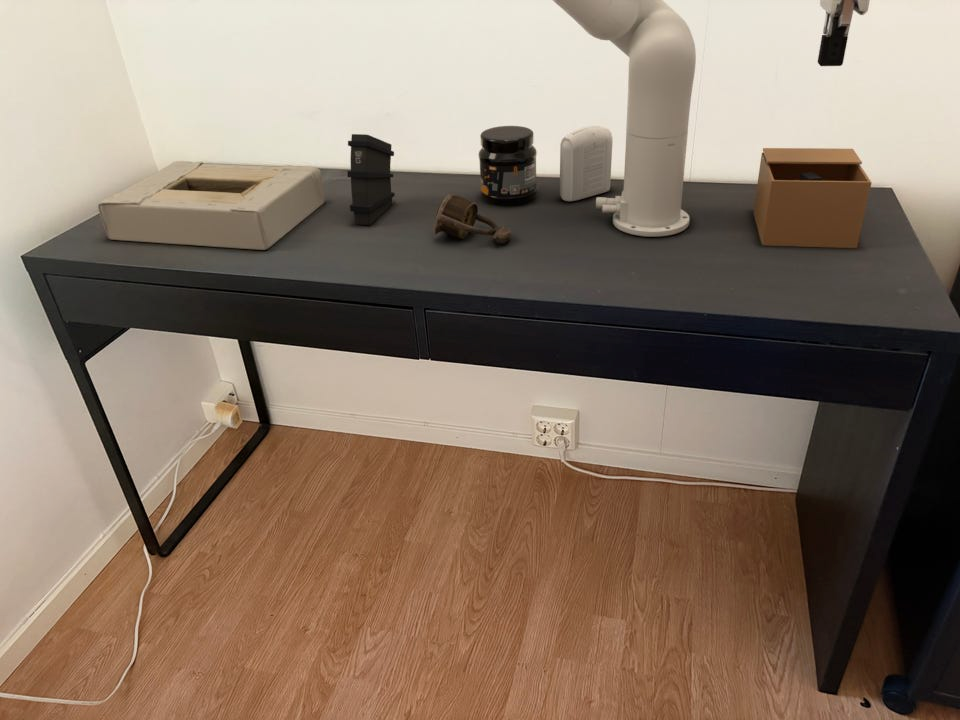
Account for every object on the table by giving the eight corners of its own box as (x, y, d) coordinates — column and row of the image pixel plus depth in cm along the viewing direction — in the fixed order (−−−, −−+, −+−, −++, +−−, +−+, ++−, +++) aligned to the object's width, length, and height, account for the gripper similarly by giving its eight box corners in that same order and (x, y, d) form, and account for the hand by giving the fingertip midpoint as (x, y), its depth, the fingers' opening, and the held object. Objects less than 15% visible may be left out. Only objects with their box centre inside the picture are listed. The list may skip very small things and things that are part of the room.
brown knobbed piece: (467, 189, 133) (422, 192, 126) (521, 198, 124) (476, 202, 118) (465, 231, 135) (421, 236, 129) (518, 243, 127) (474, 249, 120)
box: (327, 202, 147) (181, 194, 155) (321, 162, 143) (170, 156, 151) (270, 254, 129) (107, 242, 136) (261, 210, 124) (92, 200, 132)
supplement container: (482, 188, 149) (478, 125, 143) (536, 186, 148) (535, 123, 142) (479, 208, 140) (476, 142, 134) (537, 206, 139) (536, 140, 133)
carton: (762, 245, 120) (771, 180, 115) (753, 212, 132) (761, 152, 126) (856, 248, 118) (871, 182, 112) (839, 214, 129) (852, 153, 124)
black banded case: (343, 223, 133) (348, 133, 131) (375, 227, 145) (379, 146, 144) (363, 224, 132) (368, 134, 130) (393, 228, 144) (398, 146, 142)
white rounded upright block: (598, 185, 147) (600, 119, 140) (613, 191, 144) (616, 124, 137) (556, 198, 142) (556, 130, 136) (570, 204, 139) (571, 136, 133)
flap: (767, 163, 120) (767, 161, 120) (762, 150, 126) (762, 147, 126) (861, 164, 118) (862, 162, 117) (852, 150, 123) (853, 148, 123)
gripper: (900, -78, 96) (868, 76, 106) (873, -84, 108) (847, 54, 118) (836, -75, 97) (810, 76, 107) (816, -82, 110) (795, 55, 119)
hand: (829, 64), depth 113 cm, fingers closed
